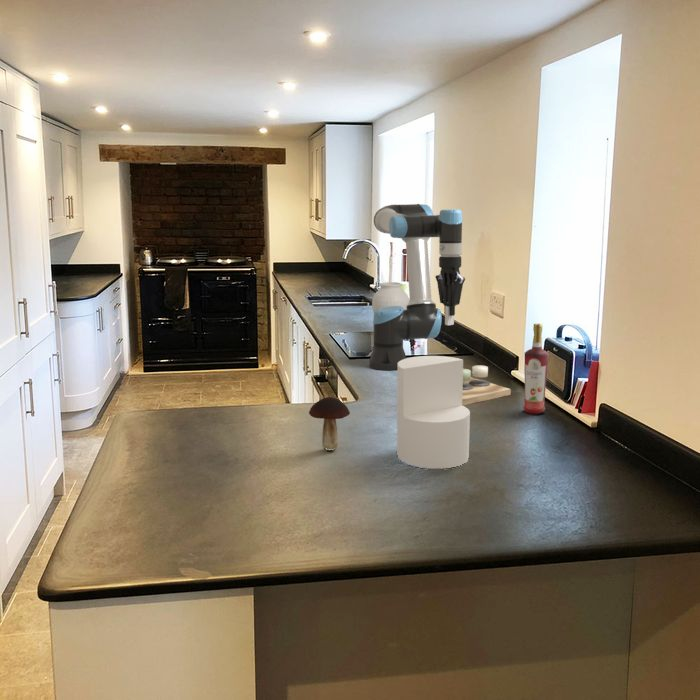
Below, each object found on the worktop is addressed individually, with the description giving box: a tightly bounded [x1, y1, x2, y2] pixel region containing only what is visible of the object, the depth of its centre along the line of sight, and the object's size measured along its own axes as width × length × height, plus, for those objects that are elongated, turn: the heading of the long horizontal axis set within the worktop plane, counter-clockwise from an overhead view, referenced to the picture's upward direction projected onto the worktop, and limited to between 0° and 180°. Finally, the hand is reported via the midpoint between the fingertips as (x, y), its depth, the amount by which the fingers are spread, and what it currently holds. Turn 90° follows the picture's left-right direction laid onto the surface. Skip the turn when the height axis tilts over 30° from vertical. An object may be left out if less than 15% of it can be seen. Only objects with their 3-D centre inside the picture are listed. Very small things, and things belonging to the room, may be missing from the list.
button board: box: [462, 376, 512, 406], centre depth 247 cm, size 22×24×3 cm
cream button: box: [471, 364, 489, 379], centre depth 250 cm, size 5×5×3 cm
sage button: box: [463, 368, 472, 381], centre depth 245 cm, size 5×5×3 cm
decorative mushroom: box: [308, 396, 351, 449], centre depth 192 cm, size 11×11×15 cm
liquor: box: [522, 323, 550, 415], centre depth 222 cm, size 7×7×28 cm
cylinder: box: [396, 355, 471, 469], centre depth 186 cm, size 19×19×25 cm
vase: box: [371, 281, 410, 314], centre depth 343 cm, size 18×18×25 cm
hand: (449, 324), depth 247 cm, fingers closed
